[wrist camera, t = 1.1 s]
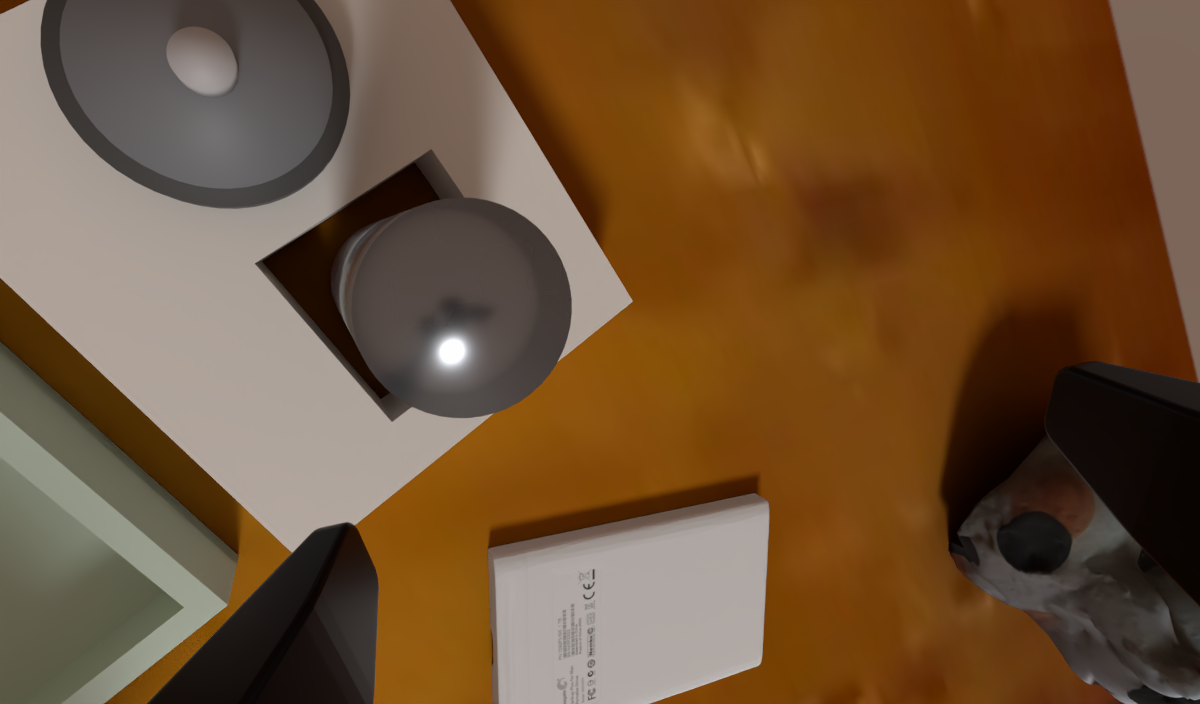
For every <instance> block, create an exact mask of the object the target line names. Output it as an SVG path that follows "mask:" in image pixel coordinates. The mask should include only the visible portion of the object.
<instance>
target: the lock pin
mask: <svg viewBox="0 0 1200 704" xmlns="http://www.w3.org/2000/svg"><path fill="white" fill-rule="evenodd" d="M330 283H331V291H332V296H333V299H334V302H335V304H336V306H337V308H338V310H339V312H340V314H341V316H342V318H343V320H344V322H345V324H346V326H347V328H348V330H349V332H350V334H351V336H352V337H353V339H354V341H355V343H356V345H357V347H358V349H359V351H360V353H361V355H362V357H363V359H364V360H365V362H366V364H367V366H368V368H369V369H370V370H371V372H372V373H373V375H374V376H375V377H376V379H377V380H378V381H379V382H380V383H381V384H382V385H383V386H384V387H385V388H386V389H387V390H388V391H389V392H390V393H392V394H393V395H394V396H396V397H397V398H398V399H399V400H401V401H403V402H405V403H406V404H408V405H410V406H411V407H414V408H416V409H418V410H421V411H423V412H426V413H429V414H433V415H437V416H441V417H449V418H473V417H481V416H485V415H489V414H493V413H496V412H499V411H501V410H504V409H506V408H509V407H510V406H512V405H514V404H516V403H518V402H520V401H521V400H522V399H524V398H525V397H527V396H528V395H529V394H531V393H532V392H533V391H534V390H535V389H536V388H537V387H538V386H540V385H541V384H542V382H543V381H544V380H545V379H546V378H547V377H548V375H549V374H550V373H551V371H552V370H553V368H554V367H555V365H556V364H557V362H558V360H559V358H560V356H561V354H562V352H563V349H564V347H565V344H566V341H567V338H568V334H569V330H570V325H571V315H572V298H571V291H570V284H569V281H568V277H567V273H566V270H565V268H564V265H563V263H562V260H561V258H560V257H559V255H558V253H557V251H556V249H555V248H554V246H553V245H552V244H551V242H550V241H549V239H548V238H547V237H546V236H545V235H544V234H543V233H542V231H541V230H540V229H539V228H538V227H537V226H536V225H534V224H533V223H532V222H531V221H529V220H528V219H527V218H526V217H524V216H522V215H521V214H519V213H518V212H516V211H514V210H512V209H510V208H508V207H506V206H503V205H501V204H498V203H495V202H492V201H488V200H483V199H477V198H462V197H457V198H447V199H441V200H437V201H433V202H429V203H426V204H423V205H420V206H418V207H415V208H412V209H410V210H407V211H404V212H401V213H399V214H396V215H393V216H391V217H388V218H385V219H382V220H380V221H377V222H374V223H372V224H369V225H367V226H364V227H362V228H361V229H359V230H357V231H356V232H355V233H353V234H352V235H351V236H350V237H349V238H348V239H347V240H346V241H345V242H344V243H343V244H342V246H341V247H340V248H339V250H338V252H337V254H336V256H335V258H334V261H333V264H332V269H331V277H330Z"/></svg>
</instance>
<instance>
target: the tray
mask: <svg viewBox="0 0 1200 704" xmlns="http://www.w3.org/2000/svg"><path fill="white" fill-rule="evenodd" d="M238 557H239V555H238V554H236V553H235V552H234V551H233V550H232V549H231V548H230V547H229V546H228V545H226V544H225V543H224V542H223V541H222V540H221V539H220V538H219V537H218V536H216V535H215V534H214V533H213V532H212V531H211V530H210V529H209V528H208V527H206V526H205V525H204V524H203V523H202V522H201V521H200V520H199V519H197V518H196V517H195V516H194V515H193V514H192V513H191V512H190V511H189V510H187V509H186V508H185V507H184V506H183V505H182V504H181V503H180V502H179V501H177V500H176V499H175V498H174V497H173V496H172V495H171V494H170V493H169V492H167V491H166V490H165V489H164V488H163V487H162V486H161V485H160V484H159V483H157V482H156V481H155V480H154V479H153V478H152V477H151V476H150V475H148V474H147V473H146V472H145V471H144V470H143V469H142V468H141V467H140V466H138V465H137V464H136V463H135V462H134V461H133V460H132V459H131V458H130V457H128V456H127V455H126V454H125V453H124V452H123V451H122V450H121V449H120V448H118V447H117V446H116V445H115V444H114V443H113V442H112V441H111V440H110V439H108V438H107V437H106V436H105V435H104V434H103V433H102V432H101V431H100V430H98V429H97V428H96V427H95V426H94V425H93V424H92V423H91V422H89V421H88V420H87V419H86V418H85V417H84V416H83V415H82V414H81V413H79V412H78V411H77V410H76V409H75V408H74V407H73V406H72V405H71V404H69V403H68V402H67V401H66V400H65V399H64V398H63V397H62V396H61V395H59V394H58V393H57V392H56V391H55V390H54V389H53V388H52V387H51V386H49V385H48V384H47V383H46V382H45V381H44V380H43V379H42V378H41V377H39V376H38V375H37V374H36V373H35V372H34V371H33V370H32V369H30V368H29V367H28V366H27V365H26V364H25V363H24V362H23V361H22V360H20V359H19V358H18V357H17V356H16V355H15V354H14V353H13V352H12V351H10V350H9V349H8V348H7V347H6V346H5V345H4V344H3V343H2V342H0V704H104V703H105V702H107V701H108V700H109V699H110V698H112V697H113V696H114V695H115V694H117V693H118V692H119V691H120V690H122V689H123V688H124V687H125V686H127V685H128V684H129V683H130V682H132V681H133V680H134V679H135V678H137V677H138V676H139V675H141V674H142V673H143V672H144V671H146V670H147V669H148V668H149V667H151V666H152V665H153V664H154V663H156V662H157V661H158V660H159V659H161V658H162V657H163V656H164V655H166V654H167V653H168V652H169V651H171V650H172V649H173V648H174V647H176V646H177V645H178V644H180V643H181V642H182V641H183V640H185V639H186V638H187V637H188V636H190V635H191V634H192V633H193V632H195V631H196V630H197V629H198V628H200V627H201V626H202V625H203V624H205V623H206V622H207V621H208V620H210V619H211V618H212V617H213V616H215V615H216V614H217V613H219V612H220V611H221V610H222V609H224V608H225V607H226V606H227V605H228V602H229V598H230V593H231V588H232V584H233V579H234V575H235V570H236V566H237V561H238Z"/></svg>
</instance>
